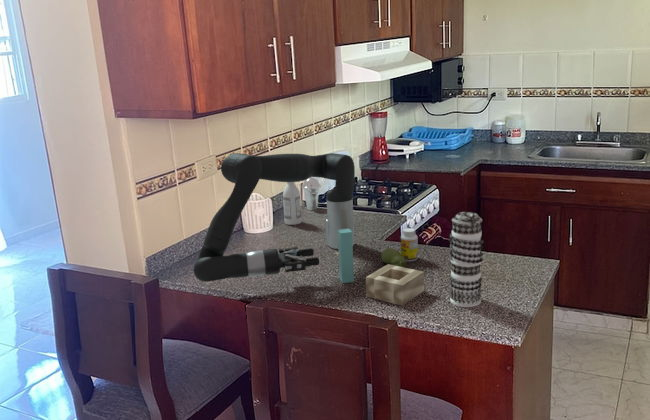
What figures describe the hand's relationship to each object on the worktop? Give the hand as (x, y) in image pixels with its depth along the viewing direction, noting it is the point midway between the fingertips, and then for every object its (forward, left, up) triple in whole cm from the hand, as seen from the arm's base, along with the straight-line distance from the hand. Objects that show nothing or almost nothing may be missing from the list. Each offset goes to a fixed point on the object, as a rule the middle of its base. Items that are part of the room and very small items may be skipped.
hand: (316, 256), depth 185 cm
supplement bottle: (+13, +33, -9) cm, 37 cm away
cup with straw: (-56, +67, -9) cm, 88 cm away
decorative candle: (+43, +12, -9) cm, 46 cm away
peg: (+6, +7, -9) cm, 13 cm away
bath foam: (-49, +46, -9) cm, 68 cm away
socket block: (+24, +6, -9) cm, 26 cm away
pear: (+12, +25, -9) cm, 30 cm away
